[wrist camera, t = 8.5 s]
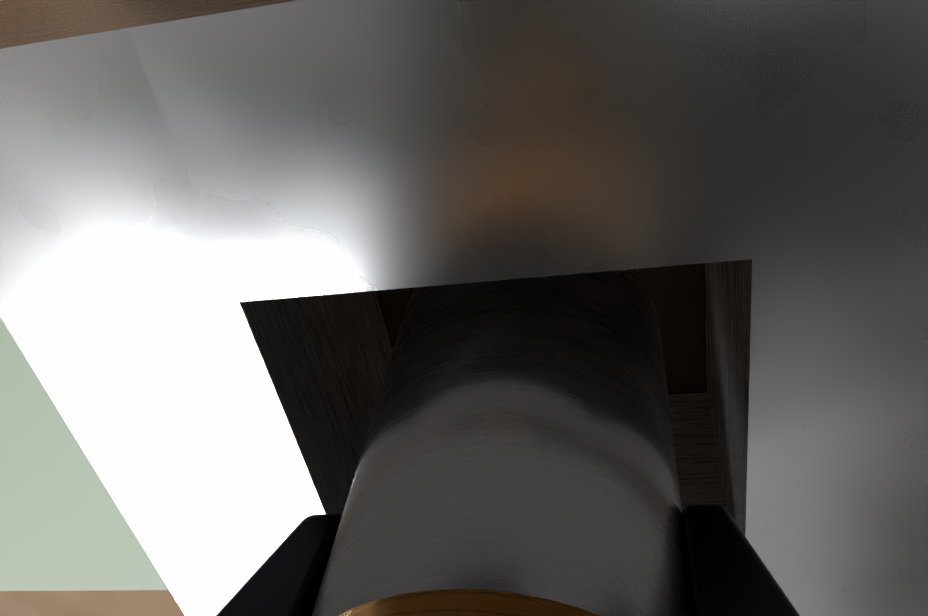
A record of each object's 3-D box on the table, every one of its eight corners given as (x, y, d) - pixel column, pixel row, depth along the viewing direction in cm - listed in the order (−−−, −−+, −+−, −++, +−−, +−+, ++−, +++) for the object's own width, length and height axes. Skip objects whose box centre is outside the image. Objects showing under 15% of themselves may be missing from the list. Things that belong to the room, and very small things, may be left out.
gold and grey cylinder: (654, 211, 10) (819, 1413, 3) (664, 421, 12) (779, 1445, 5) (379, 238, 11) (-30, 1258, 4) (432, 432, 13) (236, 1337, 6)
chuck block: (982, -198, 9) (1221, -151, 5) (873, 503, 15) (954, 722, 12) (68, -32, 11) (-151, 72, 8) (306, 518, 17) (239, 705, 14)
